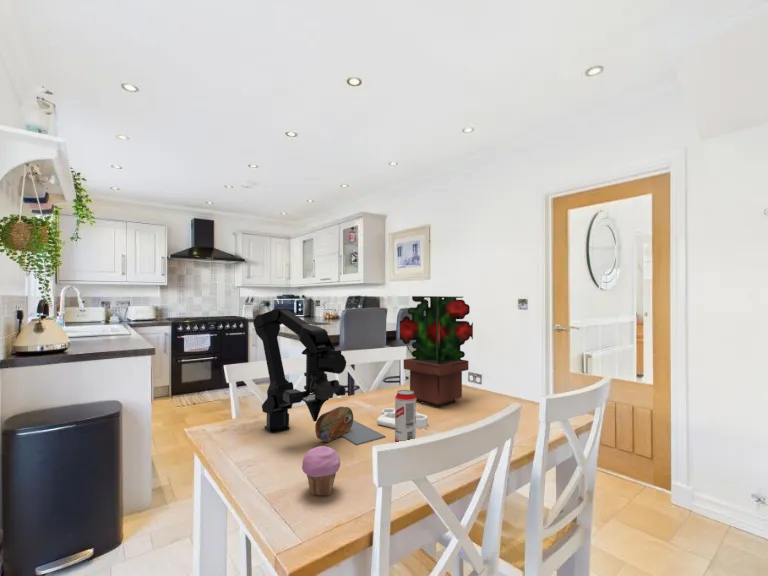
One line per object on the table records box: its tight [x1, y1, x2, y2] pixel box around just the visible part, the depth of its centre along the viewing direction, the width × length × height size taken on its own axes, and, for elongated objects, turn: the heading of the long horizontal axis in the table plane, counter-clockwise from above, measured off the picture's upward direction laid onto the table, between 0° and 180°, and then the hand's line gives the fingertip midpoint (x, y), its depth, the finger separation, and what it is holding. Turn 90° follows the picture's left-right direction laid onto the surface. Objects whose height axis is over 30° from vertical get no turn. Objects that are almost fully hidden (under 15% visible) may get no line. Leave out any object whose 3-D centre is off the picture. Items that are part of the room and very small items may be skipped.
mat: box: [340, 419, 386, 446], centre depth 123 cm, size 11×19×1 cm, turn 37°
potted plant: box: [399, 295, 474, 408], centre depth 161 cm, size 22×22×45 cm
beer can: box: [394, 389, 417, 443], centre depth 113 cm, size 6×6×16 cm
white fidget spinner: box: [376, 407, 429, 429], centre depth 133 cm, size 3×18×15 cm
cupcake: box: [301, 445, 341, 496], centre depth 86 cm, size 9×9×10 cm
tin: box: [314, 406, 354, 443], centre depth 119 cm, size 15×3×8 cm, turn 143°
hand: (314, 421), depth 115 cm, fingers closed
